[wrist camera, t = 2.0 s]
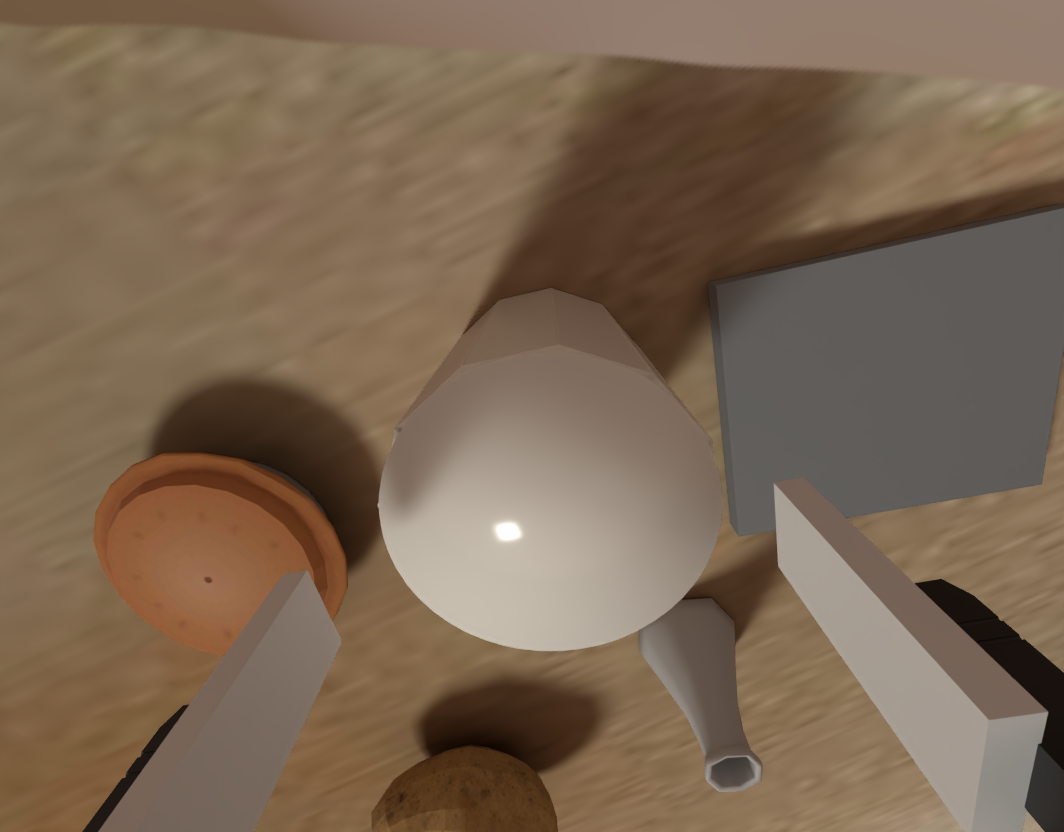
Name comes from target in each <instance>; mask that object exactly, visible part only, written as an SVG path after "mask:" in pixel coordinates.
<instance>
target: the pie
mask: <svg viewBox="0 0 1064 832" xmlns="http://www.w3.org/2000/svg"><path fill="white" fill-rule="evenodd" d="M93 541H94V544H95V548H96V551H97V554H98V557H99V560H100V563H101V567H102V570H103V571H104V573H105V574H106V576H107V577H108V579H109V580H110V582H111V583H112V585H113V586H114V588H115V589H116V591H117V592H118V593H119V595H120V596H121V598H122V599H123V600H124V601H125V602H126V603H127V604H128V605H129V606H130V607H131V608H132V609H133V610H134V611H135V612H136V613H137V614H138V615H139V616H140V617H141V618H142V619H143V620H144V621H145V622H147V623H148V624H150V625H151V626H153V627H155V628H156V629H158V630H159V631H161V632H162V633H164V634H166V635H167V636H169V637H170V638H172V639H173V640H176V641H178V642H181V643H184V644H187V645H189V646H192V647H195V648H198V649H200V650H203V651H206V652H210V653H215V654H219V655H224V656H225V654H226V653H227V652H228V650H229V649H230V647H231V646H232V645H233V643H234V642H235V640H236V639H237V638H238V636H239V635H240V633H241V632H242V631H243V629H244V628H245V627H246V625H247V624H248V622H249V621H250V620H251V618H252V617H253V615H254V614H255V613H256V611H257V610H258V608H259V607H260V606H261V604H262V603H263V601H264V600H265V599H266V597H267V596H268V594H269V593H270V592H271V590H272V589H273V588H274V586H275V585H276V583H277V582H278V581H279V579H280V578H281V576H282V575H284V574H289V573H294V572H300V571H305V570H308V572H309V574H310V576H311V578H312V580H313V582H314V584H315V586H316V589H317V591H318V593H319V595H320V597H321V599H322V601H323V603H324V605H325V607H326V609H327V611H328V613H329V616H330V618H331V620H332V621H333V619H334V618H335V616H336V614H337V613H338V611H339V608H340V606H341V603H342V601H343V598H344V595H345V593H346V590H347V588H348V578H347V564H346V555H345V553H344V550H343V548H342V546H341V543H340V541H339V539H338V536H337V534H336V532H335V529H334V527H333V526H332V525H331V523H330V522H329V521H328V519H327V516H326V514H325V511H324V509H323V508H322V507H321V506H320V504H319V503H318V502H317V501H316V499H315V498H314V497H313V495H312V494H311V493H310V492H309V491H308V490H307V489H306V488H304V487H303V486H302V485H301V484H299V483H298V482H297V481H295V480H294V479H293V478H291V477H290V476H289V475H287V474H285V473H282V472H280V471H278V470H276V469H274V468H272V467H269V466H267V465H265V464H260V463H255V462H250V461H246V460H244V459H240V458H234V457H228V456H221V455H215V454H209V453H162V454H159V455H157V456H154V457H152V458H149V459H146V460H144V461H141V462H139V463H136V464H134V465H132V466H131V467H130V468H129V469H128V470H127V471H126V472H125V473H124V474H122V475H121V476H120V477H119V478H118V479H117V480H116V481H115V482H114V483H113V484H112V485H111V486H110V487H109V489H108V491H107V492H106V494H105V496H104V498H103V500H102V501H101V503H100V505H99V507H98V508H97V510H96V514H95V527H94V539H93Z"/></svg>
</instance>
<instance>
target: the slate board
mask: <svg viewBox="0 0 1064 832" xmlns="http://www.w3.org/2000/svg"><path fill="white" fill-rule="evenodd" d="M707 285H708V296H709V306H710V316H711V327H712V337H713V348H714V358H715V368H716V379H717V389H718V399H719V410H720V420H721V430H722V441H723V451H724V461H725V472H726V482H727V493H728V503H729V513H730V523H731V525H732V526H733V528H734V530H735V531H736V533H737V534H738V536H745V535H751V534H756V533H762V532H768V531H774V530H776V516H775V498H774V483H775V482H781V481H786V480H791V479H797V478H802V477H804V478H805V479H806V480H807V481H808V482H809V483H810V484H811V485H812V486H813V487H814V488H815V489H816V490H817V491H818V492H819V493H820V494H822V495H823V496H824V497H825V498H826V499H827V500H828V501H829V502H830V503H831V504H832V505H833V506H834V507H835V508H836V509H837V510H838V511H839V512H840V513H841V514H842V515H843V516H844V517H846V518H849V517H855V516H861V515H866V514H872V513H878V512H884V511H889V510H895V509H901V508H907V507H913V506H918V505H924V504H930V503H936V502H942V501H947V500H953V499H959V498H965V497H971V496H976V495H982V494H988V493H994V492H1000V491H1005V490H1011V489H1017V488H1023V487H1028V486H1034V485H1040V484H1042V480H1043V473H1044V467H1045V461H1046V455H1047V449H1048V442H1049V436H1050V430H1051V424H1052V418H1053V412H1054V405H1055V399H1056V393H1057V387H1058V381H1059V374H1060V368H1061V362H1062V356H1063V350H1064V204H1055V205H1051V206H1047V207H1042V208H1038V209H1033V210H1029V211H1024V212H1020V213H1015V214H1011V215H1006V216H1002V217H997V218H993V219H988V220H984V221H979V222H975V223H970V224H966V225H962V226H957V227H953V228H948V229H944V230H939V231H935V232H930V233H926V234H921V235H917V236H912V237H908V238H903V239H899V240H894V241H890V242H885V243H881V244H877V245H872V246H868V247H863V248H859V249H854V250H850V251H845V252H841V253H836V254H832V255H827V256H823V257H818V258H814V259H809V260H805V261H800V262H796V263H792V264H787V265H783V266H778V267H774V268H769V269H765V270H760V271H756V272H751V273H747V274H742V275H738V276H733V277H729V278H724V279H720V280H715V281H711V282H707Z"/></svg>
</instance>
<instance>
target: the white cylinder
mask: <svg viewBox="0 0 1064 832" xmlns="http://www.w3.org/2000/svg"><path fill="white" fill-rule="evenodd" d="M377 505H378V507H379V516H380V523H381V529H382V534H383V537H384V540H385V543H386V547H387V550H388V552H389V554H390V557H391V559H392V561H393V563H394V565H395V567H396V569H397V570H398V572H399V573H400V575H401V576H402V578H403V579H404V581H405V582H406V584H407V585H408V586H409V587H410V589H411V590H412V591H413V592H414V593H415V594H416V596H417V597H418V598H419V599H420V600H421V601H422V602H423V603H425V604H426V605H427V606H428V607H429V608H430V609H431V610H432V611H433V612H435V613H436V614H438V615H439V616H440V617H442V618H443V619H445V620H446V621H447V622H449V623H451V624H452V625H454V626H456V627H458V628H460V629H461V630H463V631H465V632H467V633H469V634H472V635H474V636H476V637H479V638H481V639H484V640H487V641H490V642H493V643H497V644H500V645H503V646H509V647H514V648H519V649H526V650H536V651H565V650H575V649H583V648H588V647H592V646H597V645H601V644H605V643H608V642H611V641H614V640H617V639H620V638H622V637H625V636H627V635H629V634H632V633H634V632H636V631H638V630H640V629H642V628H643V627H645V626H647V625H649V624H650V623H652V622H654V621H655V620H657V619H658V618H659V617H661V616H662V615H663V614H665V613H666V612H667V611H669V610H670V609H671V608H672V607H673V606H674V605H675V604H677V603H678V602H679V601H680V600H681V599H682V598H683V597H684V596H685V595H686V594H687V592H688V591H689V590H690V589H691V588H692V586H693V585H694V584H695V583H696V581H697V580H698V578H699V577H700V575H701V574H702V572H703V570H704V569H705V567H706V566H707V564H708V561H709V559H710V557H711V555H712V552H713V550H714V548H715V545H716V541H717V538H718V534H719V531H720V525H721V517H722V487H721V482H720V476H719V470H718V468H717V465H716V462H715V459H714V450H713V441H712V439H711V438H710V436H709V435H708V434H707V433H706V431H705V430H704V429H703V427H702V426H701V425H700V424H699V422H698V421H697V420H696V419H695V417H694V416H693V415H692V414H691V412H690V411H689V410H688V409H687V407H686V406H685V405H684V403H683V402H682V401H681V400H680V398H679V397H678V396H677V395H676V393H675V392H674V391H673V390H672V388H671V387H670V386H669V385H668V383H667V382H666V381H665V379H664V378H663V377H662V376H661V374H660V373H659V372H658V371H657V369H656V368H655V367H654V366H653V364H652V363H651V362H650V360H649V359H648V358H647V357H646V355H645V354H644V353H643V352H642V350H641V349H640V348H639V347H638V345H637V344H636V343H635V342H634V341H633V340H632V339H631V338H630V336H629V335H628V334H627V333H626V332H625V331H624V329H623V328H622V327H621V326H620V325H619V324H618V323H617V321H616V320H615V319H614V318H613V317H612V316H611V314H610V313H609V312H608V311H607V310H606V308H605V307H604V306H603V304H600V303H597V302H594V301H590V300H587V299H584V298H581V297H578V296H575V295H572V294H569V293H566V292H562V291H559V290H556V289H553V288H548V289H544V290H540V291H535V292H531V293H527V294H522V295H518V296H514V297H509V298H505V299H501V300H498V301H497V302H496V303H495V304H494V305H493V306H492V307H491V308H490V309H489V310H488V311H487V312H486V313H485V314H484V315H483V316H482V317H481V318H480V319H479V320H478V321H477V322H476V323H475V324H474V325H473V326H471V327H470V328H469V329H468V330H467V331H466V332H465V333H464V334H463V335H462V336H461V337H460V339H459V340H458V341H457V343H456V344H455V346H454V347H453V348H452V350H451V351H450V352H449V354H448V355H447V357H446V358H445V359H444V361H443V362H442V363H441V365H440V366H439V368H438V369H437V370H436V372H435V373H434V374H433V376H432V377H431V379H430V380H429V381H428V383H427V384H426V385H425V387H424V388H423V390H422V391H421V392H420V394H419V395H418V396H417V398H416V399H415V401H414V402H413V403H412V405H411V406H410V407H409V409H408V410H407V412H406V413H405V414H404V416H403V417H402V418H401V420H400V421H399V423H398V424H397V425H396V427H395V432H394V437H393V441H392V445H391V450H390V452H389V454H388V456H387V460H386V463H385V466H384V470H383V473H382V477H381V484H380V491H379V503H378V504H377Z"/></svg>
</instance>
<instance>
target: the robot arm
mask: <svg viewBox="0 0 1064 832" xmlns="http://www.w3.org/2000/svg"><path fill="white" fill-rule="evenodd" d="M774 498H775V516H776V535H777V553H778V567H779V568H780V570H781V571H782V573H783V574H784V575H785V577H786V578H787V580H788V581H789V583H790V584H791V585H792V587H793V588H794V590H795V591H796V593H797V594H798V595H799V597H800V598H801V600H802V601H803V603H804V604H805V605H806V607H807V608H808V610H809V611H810V613H811V614H812V615H813V617H814V618H815V620H816V621H817V623H818V624H819V625H820V627H821V628H822V630H823V631H824V633H825V634H826V635H827V637H828V638H829V640H830V641H831V643H832V644H833V645H834V647H835V648H836V650H837V651H838V653H839V654H840V655H841V657H842V658H843V660H844V661H845V663H846V664H847V665H848V667H849V668H850V670H851V671H852V673H853V674H854V675H855V677H856V678H857V680H858V681H859V683H860V684H861V685H862V687H863V688H864V690H865V691H866V693H867V694H868V695H869V697H870V698H871V700H872V701H873V703H874V704H875V705H876V707H877V708H878V710H879V711H880V713H881V714H882V715H883V717H884V718H885V720H886V721H887V723H888V724H889V725H890V727H891V728H892V730H893V731H894V733H895V734H896V735H897V737H898V738H899V740H900V741H901V743H902V744H903V745H904V747H905V748H906V750H907V751H908V753H909V754H910V755H911V757H912V758H913V760H914V761H915V763H916V764H917V765H918V767H919V768H920V770H921V771H922V773H923V774H924V775H925V777H926V778H927V780H928V781H929V783H930V784H931V785H932V787H933V788H934V790H935V791H936V793H937V794H938V795H939V797H940V798H941V800H942V801H943V803H944V804H945V805H946V807H947V808H948V810H949V811H950V813H951V814H952V815H953V817H954V818H955V820H956V821H957V823H958V824H959V825H960V827H961V828H962V830H963V831H964V832H1022V830H1023V825H1024V820H1025V816H1026V811H1028V812H1029V813H1030V814H1031V816H1032V817H1033V818H1034V819H1035V820H1036V822H1037V823H1038V824H1039V825H1040V826H1041V828H1042V829H1043V830H1044V831H1045V832H1064V673H1063V672H1062V671H1061V670H1060V669H1059V668H1058V667H1056V666H1055V665H1054V664H1053V663H1052V662H1051V661H1049V660H1048V659H1047V658H1046V657H1045V656H1043V655H1042V654H1041V653H1040V652H1039V651H1038V650H1036V649H1035V648H1034V647H1033V646H1032V645H1031V644H1029V643H1028V642H1027V641H1026V640H1025V639H1024V640H1022V639H1021V638H1020V636H1019V634H1018V633H1017V632H1015V631H1014V630H1013V629H1012V628H1011V627H1010V626H1008V625H1007V624H1006V623H1005V622H1004V621H1000V620H999V618H998V616H997V615H996V614H994V613H993V612H992V611H991V610H990V609H989V608H987V607H986V606H985V605H984V604H983V603H982V602H980V601H979V600H978V599H977V598H976V597H975V596H973V595H972V594H970V593H968V592H966V591H964V590H962V589H960V588H958V587H956V586H954V585H952V584H950V583H948V582H946V581H944V580H942V579H938V580H932V581H926V582H920V583H913V582H912V581H911V580H910V579H909V578H908V577H907V576H906V575H905V574H904V573H903V572H902V571H901V570H900V569H899V568H898V567H897V566H896V565H895V564H893V563H892V562H891V561H890V560H889V559H888V558H887V557H886V556H885V555H884V554H883V553H882V552H881V551H880V550H879V549H878V548H877V547H876V546H875V545H874V544H873V543H872V542H871V541H870V540H868V539H867V538H866V537H865V536H864V535H863V534H862V533H861V532H860V531H859V530H858V529H857V528H856V527H855V526H854V525H853V524H852V523H851V522H850V521H849V520H848V519H847V518H846V517H844V516H843V515H842V514H841V513H840V512H839V511H838V510H837V509H836V508H835V507H834V506H833V505H832V504H831V503H830V502H829V501H828V500H827V499H826V498H825V497H824V496H823V495H822V494H820V493H819V492H818V491H817V490H816V489H815V488H814V487H813V486H812V485H811V484H810V483H809V482H808V481H807V480H806V479H805V478H804V477H802V478H797V479H791V480H786V481H781V482H775V483H774ZM341 643H342V640H341V638H340V636H339V634H338V632H337V630H336V628H335V626H334V624H333V622H332V620H331V618H330V616H329V613H328V611H327V609H326V607H325V605H324V603H323V601H322V599H321V597H320V595H319V593H318V591H317V589H316V586H315V584H314V582H313V580H312V578H311V576H310V574H309V572H308V570H305V571H300V572H294V573H289V574H284V575H282V576H281V578H280V579H279V581H278V582H277V583H276V585H275V586H274V588H273V589H272V590H271V592H270V593H269V594H268V596H267V597H266V599H265V600H264V601H263V603H262V604H261V606H260V607H259V608H258V610H257V611H256V613H255V614H254V615H253V617H252V618H251V620H250V621H249V622H248V624H247V625H246V627H245V628H244V629H243V631H242V632H241V633H240V635H239V636H238V638H237V639H236V640H235V642H234V643H233V645H232V646H231V647H230V649H229V650H228V652H227V653H226V654H225V656H224V657H223V659H222V660H221V661H220V663H219V664H218V665H217V667H216V668H215V670H214V671H213V672H212V674H211V675H210V677H209V678H208V679H207V681H206V682H205V684H204V685H203V686H202V688H201V689H200V691H199V692H198V693H197V695H196V696H195V698H194V699H193V700H192V702H191V703H190V704H189V705H184V706H182V707H181V708H180V709H179V710H178V711H177V712H176V713H175V714H174V715H173V716H172V717H171V718H170V719H169V720H168V721H166V722H165V723H164V724H163V725H162V726H161V727H160V728H159V729H158V731H157V732H156V734H155V735H154V736H153V738H152V739H151V740H150V742H149V743H148V744H147V746H146V747H145V748H144V750H143V751H142V752H141V757H138V758H137V759H136V760H135V762H134V763H133V764H132V766H131V767H130V768H129V770H128V771H127V773H126V777H125V778H122V779H121V781H120V782H119V783H118V785H117V786H116V787H115V789H114V790H113V791H112V793H111V794H110V795H109V797H108V798H107V799H106V801H105V802H104V803H103V805H102V806H101V807H100V809H99V810H98V811H97V813H96V814H95V816H94V817H93V818H92V820H91V821H90V822H89V824H88V825H87V826H86V828H85V829H84V830H83V832H254V831H255V829H256V826H257V824H258V822H259V820H260V818H261V816H262V813H263V811H264V809H265V807H266V805H267V803H268V800H269V798H270V796H271V794H272V792H273V790H274V788H275V785H276V783H277V781H278V779H279V777H280V775H281V772H282V770H283V768H284V766H285V764H286V762H287V759H288V757H289V755H290V753H291V751H292V749H293V746H294V744H295V742H296V740H297V738H298V736H299V733H300V731H301V729H302V727H303V725H304V723H305V721H306V718H307V716H308V714H309V712H310V710H311V708H312V705H313V703H314V701H315V699H316V697H317V695H318V692H319V690H320V688H321V686H322V684H323V682H324V679H325V677H326V675H327V673H328V671H329V669H330V666H331V664H332V662H333V660H334V658H335V656H336V654H337V651H338V649H339V647H340V645H341Z"/></svg>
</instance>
